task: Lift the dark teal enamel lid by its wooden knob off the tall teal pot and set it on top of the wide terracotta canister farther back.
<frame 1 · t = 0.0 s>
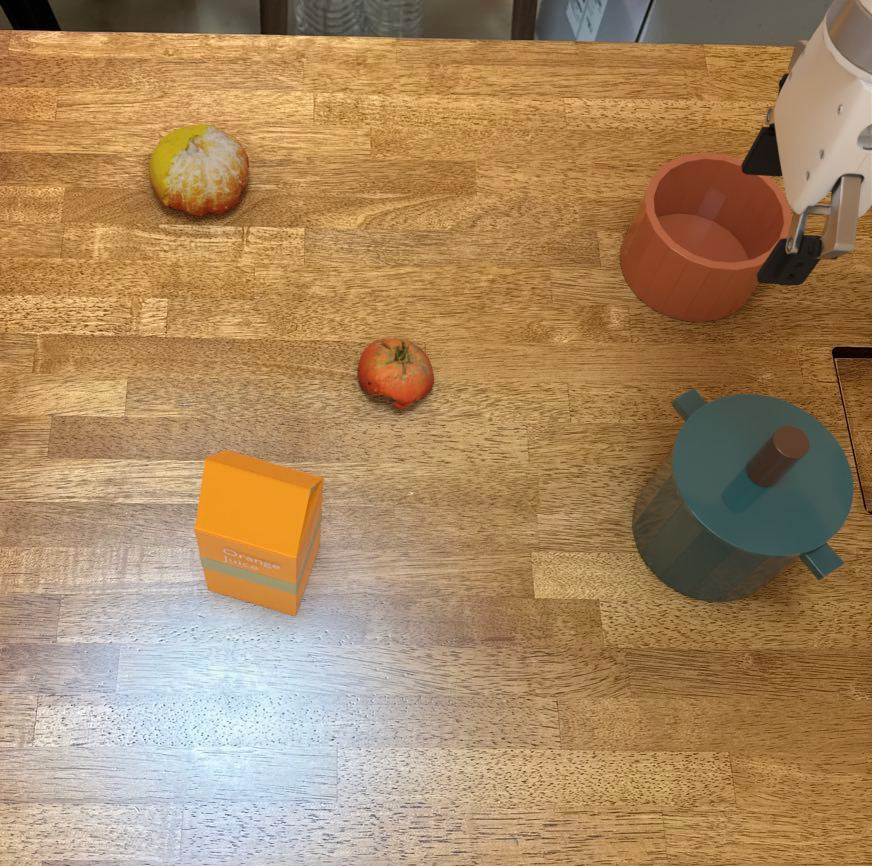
hand: (769, 225, 73), 33 cm above the table, tool pointing down, fingers open, 9 cm apart
pot: (706, 532, 100), on the table
orange juice: (264, 568, 97), on the table
fruit: (202, 189, 114), on the table
lid: (760, 474, 88), point 12 cm above the table, touching pot
tomato: (394, 381, 106), on the table
canister: (687, 265, 112), on the table
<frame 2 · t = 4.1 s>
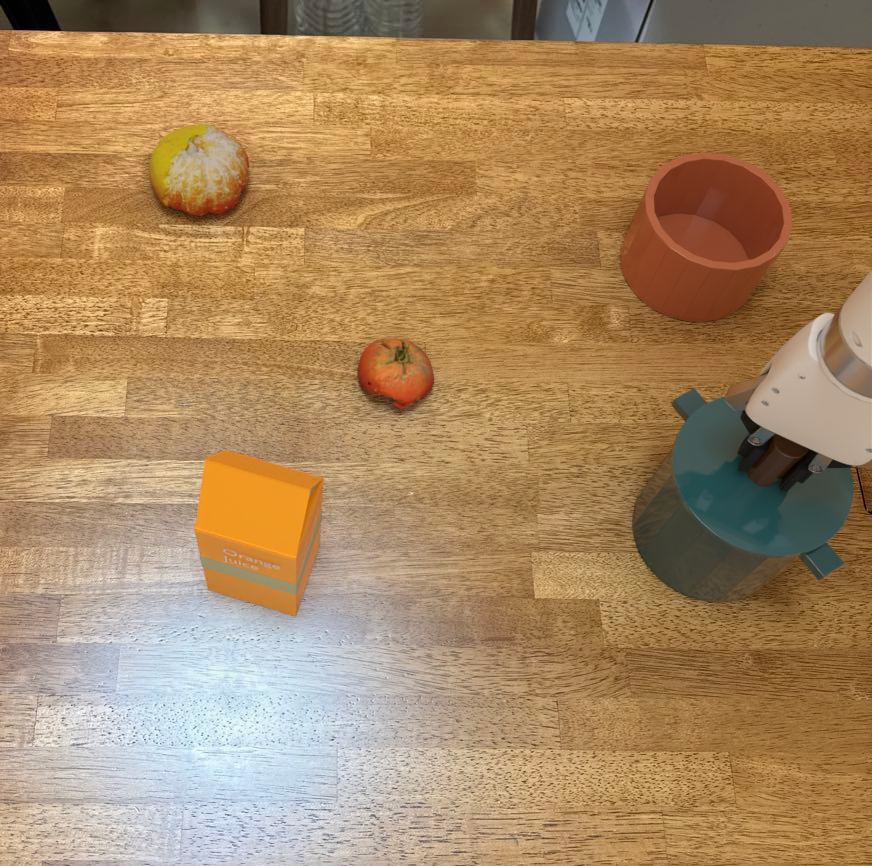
hand: (767, 466, 87), 14 cm above the table, tool pointing down, fingers closed on lid, 3 cm apart
lid: (760, 474, 88), point 13 cm above the table, touching gripper, pot
everything else where it was.
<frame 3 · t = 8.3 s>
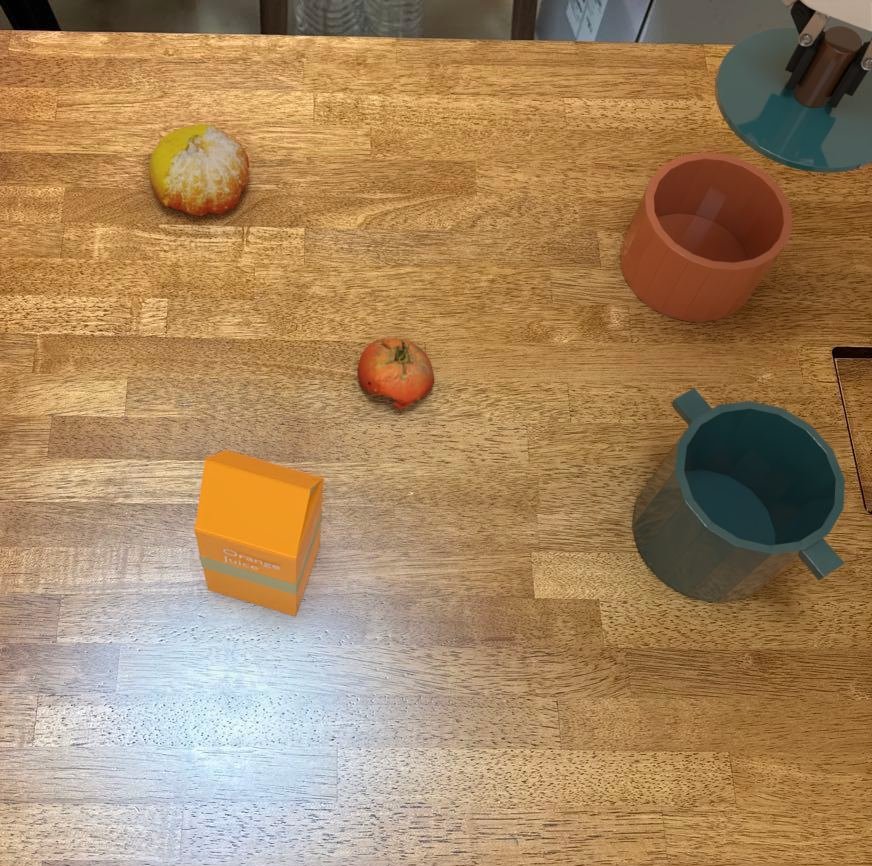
hand: (815, 85, 84), 29 cm above the table, tool pointing down, fingers closed on lid, 3 cm apart
lid: (807, 100, 85), point 28 cm above the table, touching gripper
everything else where it was.
when the fingers open (11 cm above the table, at t = 12.9 s): lid stays where it is, resting on canister.
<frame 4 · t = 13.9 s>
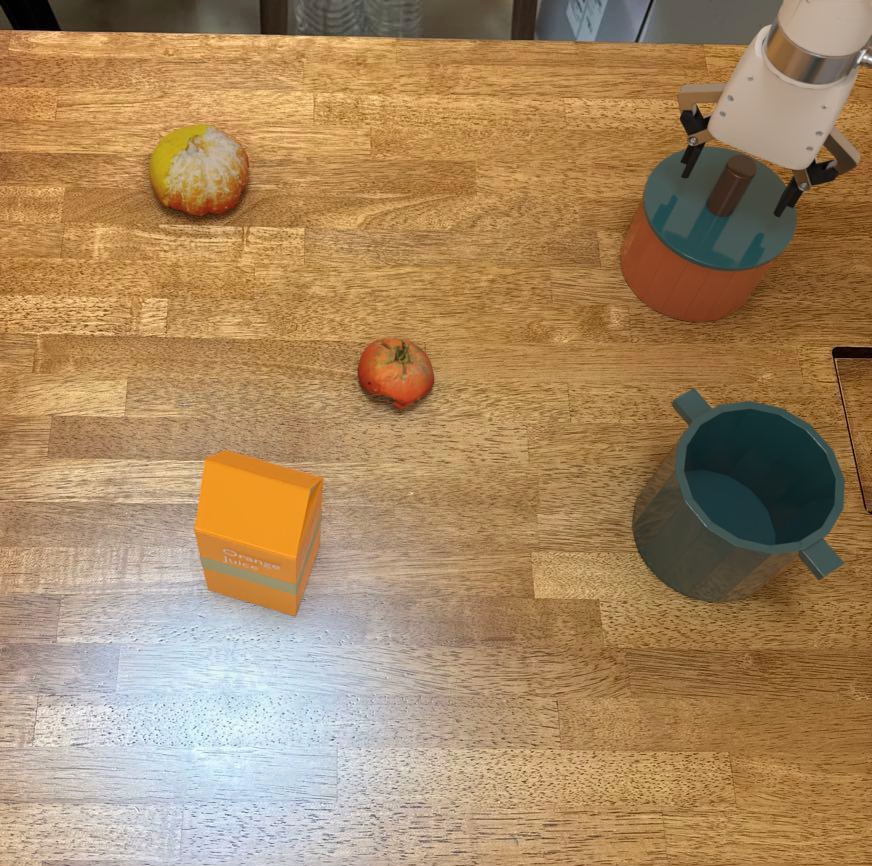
hand: (734, 187, 101), 12 cm above the table, tool pointing down, fingers open, 9 cm apart
lid: (718, 209, 104), point 9 cm above the table, touching canister
everything else where it was.
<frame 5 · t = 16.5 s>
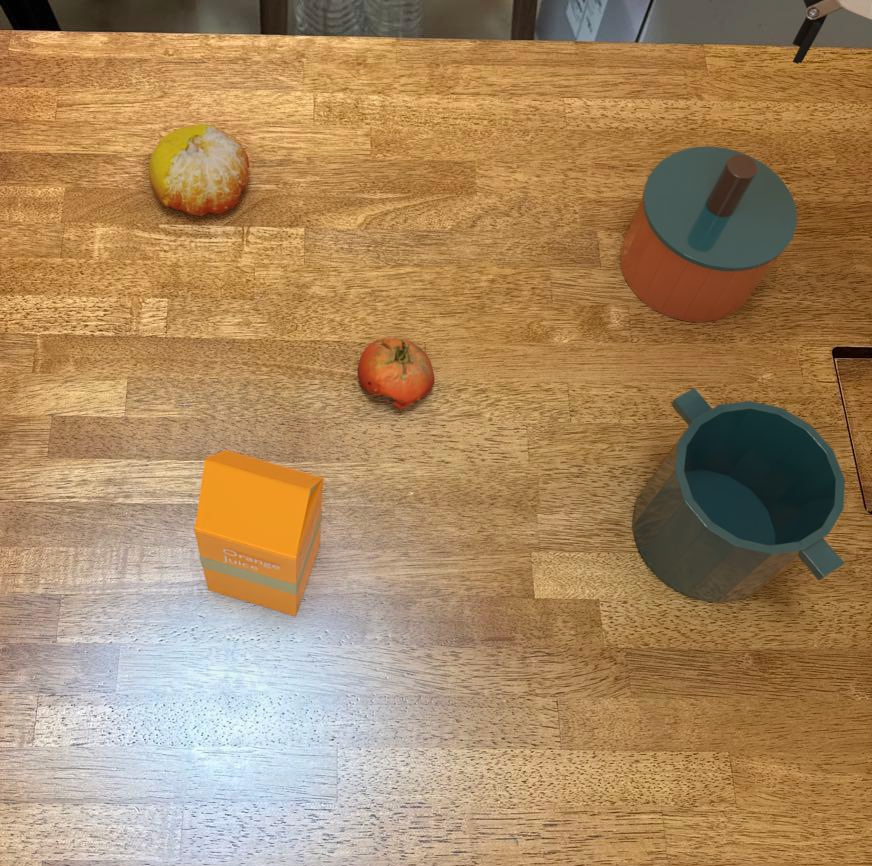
hand: (855, 74, 86), 28 cm above the table, tool pointing down, fingers open, 9 cm apart
nothing on the table moved.
at the end: lid 0.0 cm off-centre on the canister, point 9.0 cm above the canister's base; lid tilted 0°; the gripper is holding nothing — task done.
